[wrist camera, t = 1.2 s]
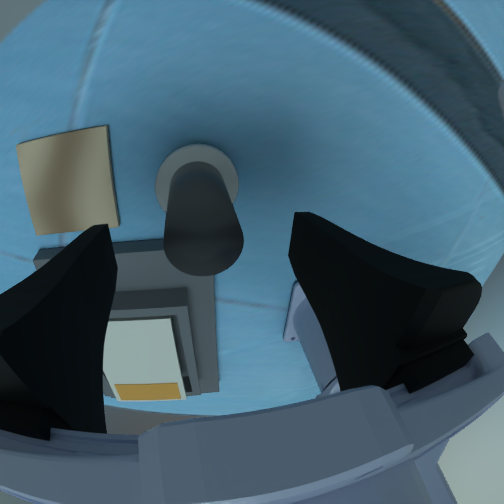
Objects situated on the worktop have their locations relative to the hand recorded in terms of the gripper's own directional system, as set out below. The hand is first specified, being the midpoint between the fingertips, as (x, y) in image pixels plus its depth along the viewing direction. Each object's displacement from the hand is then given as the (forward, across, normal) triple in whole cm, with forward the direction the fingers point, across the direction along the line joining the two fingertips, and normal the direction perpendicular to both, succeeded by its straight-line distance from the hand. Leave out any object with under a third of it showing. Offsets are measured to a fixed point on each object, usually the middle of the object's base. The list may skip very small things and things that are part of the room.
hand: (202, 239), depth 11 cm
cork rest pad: (+9, +9, 0) cm, 13 cm away
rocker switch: (+6, +6, +15) cm, 17 cm away
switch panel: (+9, +6, +15) cm, 18 cm away
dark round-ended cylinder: (+9, 0, 0) cm, 9 cm away
